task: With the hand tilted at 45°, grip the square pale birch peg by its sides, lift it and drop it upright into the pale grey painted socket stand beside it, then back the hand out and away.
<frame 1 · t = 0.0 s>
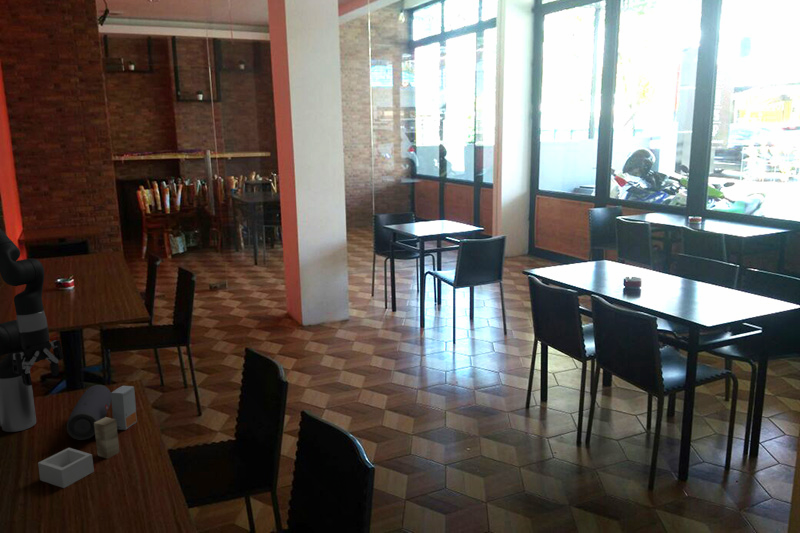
hand: (42, 380, 187), 17 cm above the table, tool pointing down, fingers open, 8 cm apart
socket stand: (67, 475, 167), on the table
birch peg: (108, 453, 179), on the table
bluetooth speaker: (92, 427, 195), on the table
skincare box: (125, 426, 196), on the table
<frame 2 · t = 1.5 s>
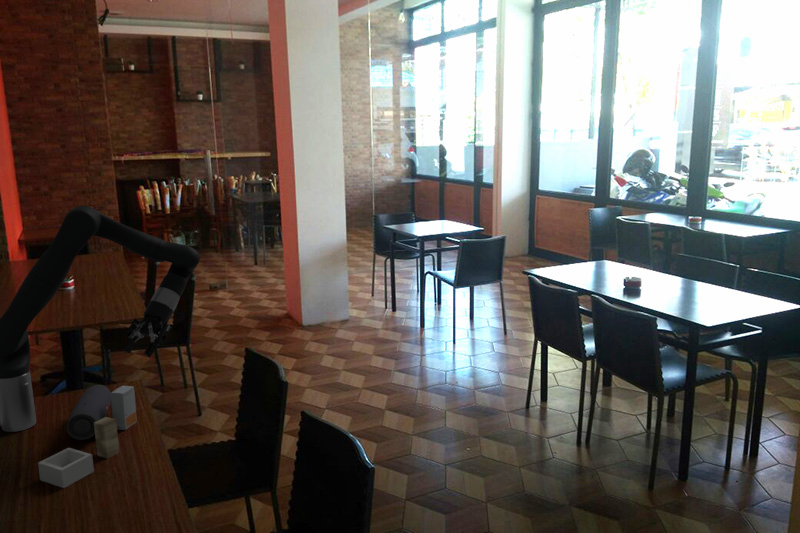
hand: (136, 353, 185), 26 cm above the table, tool tilted 45°, fingers open, 8 cm apart
nothing on the table moved.
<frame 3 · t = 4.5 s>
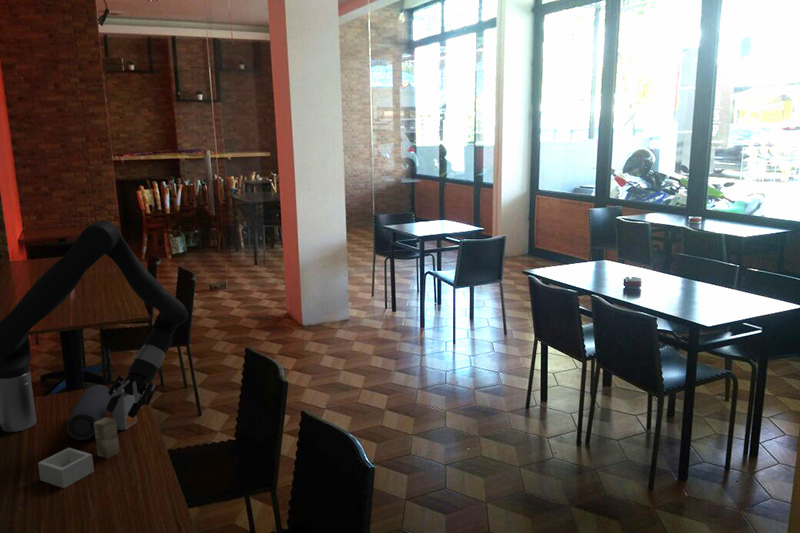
hand: (119, 413, 181), 10 cm above the table, tool tilted 45°, fingers open, 8 cm apart
nothing on the table moved.
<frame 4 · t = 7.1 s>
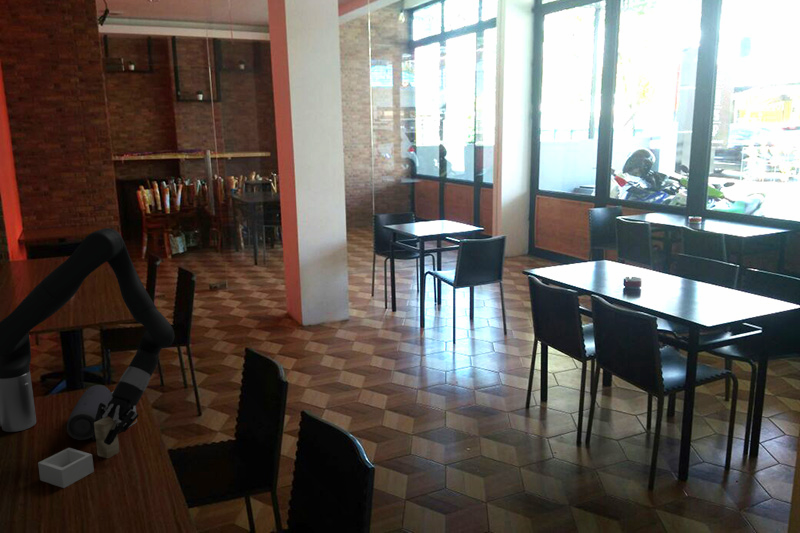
hand: (101, 441, 176), 5 cm above the table, tool tilted 45°, fingers closed on birch peg, 4 cm apart
birch peg: (108, 453, 179), on the table, touching gripper
everything else where it was.
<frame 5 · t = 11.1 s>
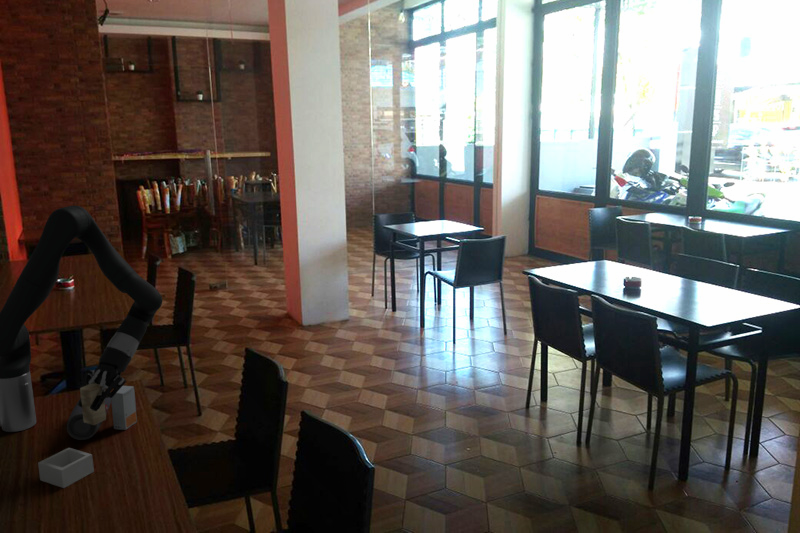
hand: (87, 408, 171), 16 cm above the table, tool tilted 45°, fingers closed on birch peg, 4 cm apart
birch peg: (95, 420, 174), point 11 cm above the table, touching gripper
everything else where it was.
when the fingers open (7 cm above the table, at t = 15.0 s): birch peg drops 1 cm, resting on socket stand.
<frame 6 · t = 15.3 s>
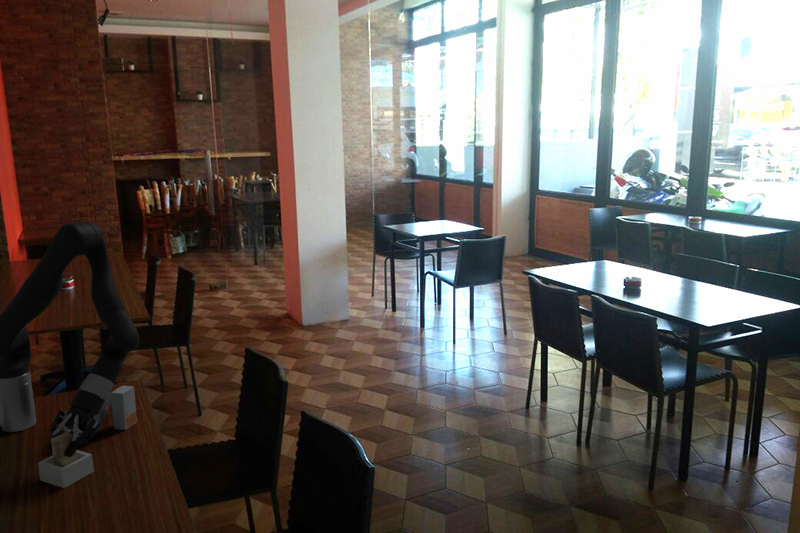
hand: (58, 453, 164), 7 cm above the table, tool tilted 45°, fingers open, 6 cm apart
birch peg: (67, 472, 167), point 1 cm above the table, touching socket stand
everything else where it was.
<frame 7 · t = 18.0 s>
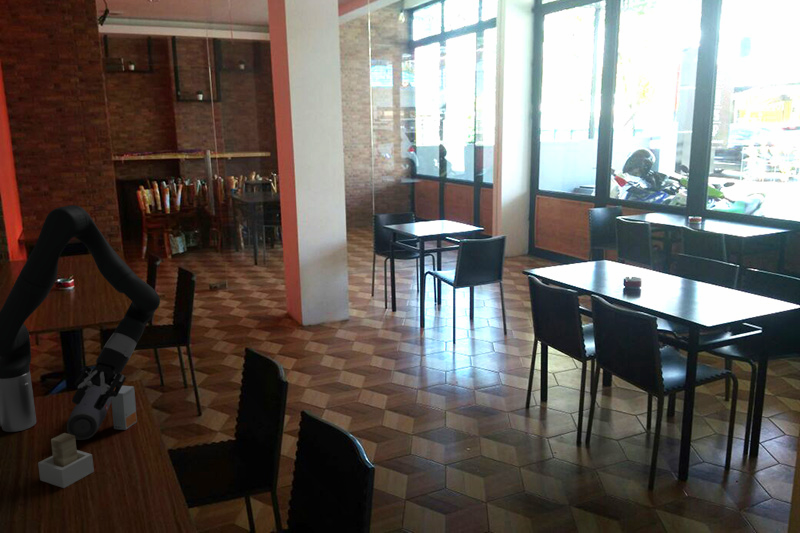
hand: (85, 406, 170), 17 cm above the table, tool tilted 45°, fingers open, 8 cm apart
nothing on the table moved.
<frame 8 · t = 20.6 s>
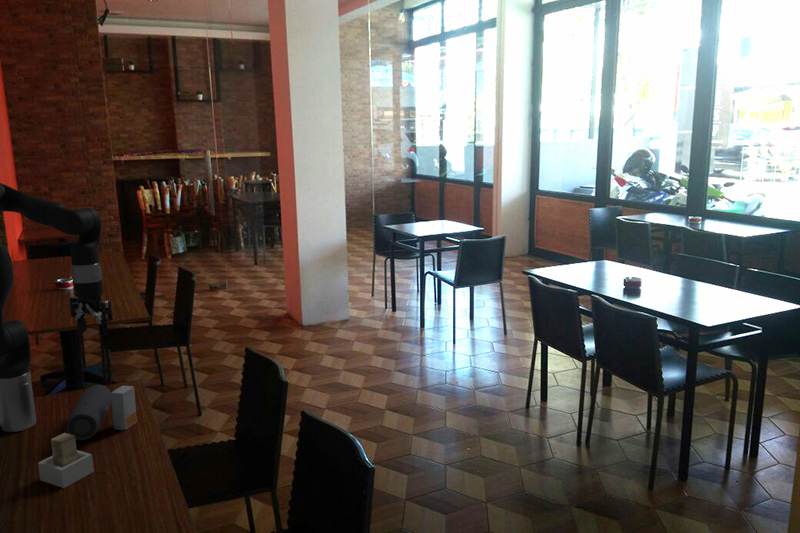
hand: (93, 333, 182), 32 cm above the table, tool pointing down, fingers open, 8 cm apart
nothing on the table moved.
at the end: birch peg 0.1 cm off-centre on the socket stand, point 1.0 cm above the socket stand's base; birch peg tilted 0°; the gripper is holding nothing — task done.
